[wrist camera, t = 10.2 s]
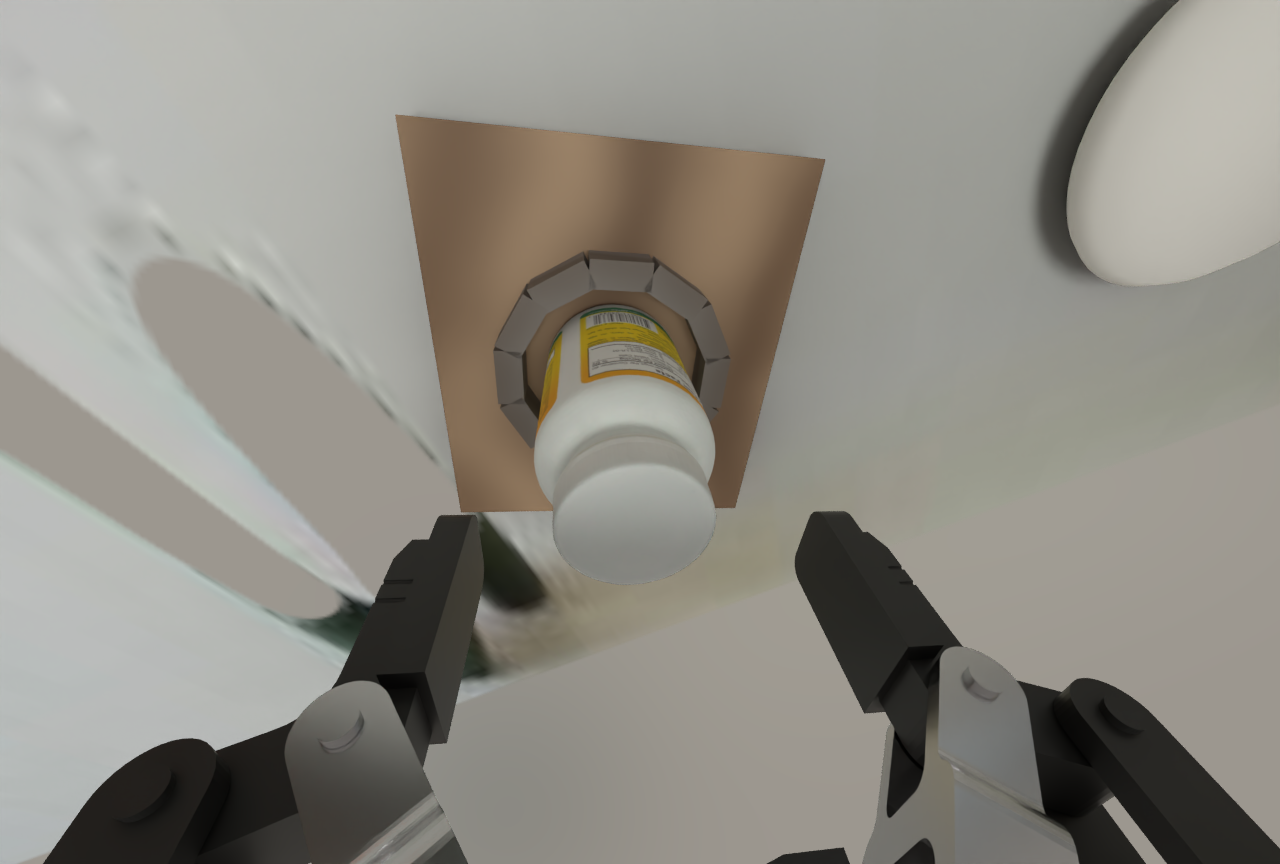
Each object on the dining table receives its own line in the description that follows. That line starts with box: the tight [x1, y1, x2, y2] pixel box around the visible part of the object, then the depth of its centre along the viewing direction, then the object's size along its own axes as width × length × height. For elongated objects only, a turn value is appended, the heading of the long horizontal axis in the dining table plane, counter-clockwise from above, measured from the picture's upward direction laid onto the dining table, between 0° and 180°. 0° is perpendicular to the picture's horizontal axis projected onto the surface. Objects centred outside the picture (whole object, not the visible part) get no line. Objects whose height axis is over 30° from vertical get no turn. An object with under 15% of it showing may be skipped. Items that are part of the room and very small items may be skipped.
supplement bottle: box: [534, 304, 716, 585], centre depth 15 cm, size 5×5×10 cm
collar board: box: [395, 115, 825, 512], centre depth 19 cm, size 14×16×3 cm
